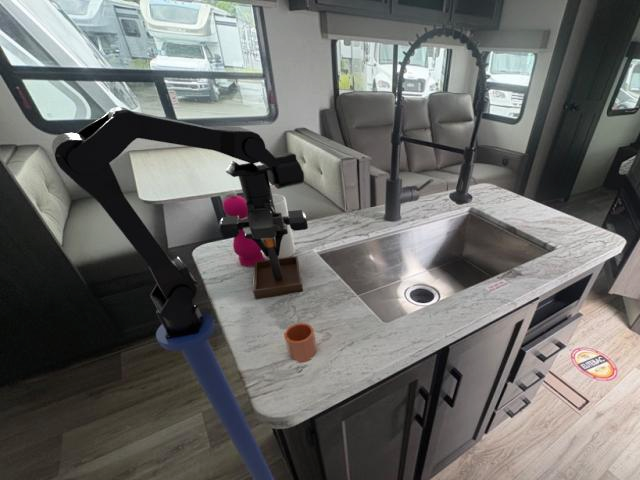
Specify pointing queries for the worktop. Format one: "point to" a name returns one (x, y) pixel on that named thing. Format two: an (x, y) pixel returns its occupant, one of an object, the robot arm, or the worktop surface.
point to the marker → (273, 257)
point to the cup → (287, 240)
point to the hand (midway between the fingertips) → (272, 255)
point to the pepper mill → (241, 245)
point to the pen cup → (301, 342)
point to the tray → (270, 286)
